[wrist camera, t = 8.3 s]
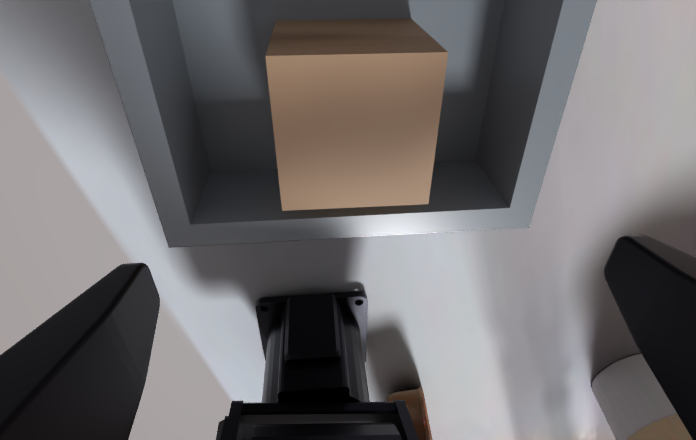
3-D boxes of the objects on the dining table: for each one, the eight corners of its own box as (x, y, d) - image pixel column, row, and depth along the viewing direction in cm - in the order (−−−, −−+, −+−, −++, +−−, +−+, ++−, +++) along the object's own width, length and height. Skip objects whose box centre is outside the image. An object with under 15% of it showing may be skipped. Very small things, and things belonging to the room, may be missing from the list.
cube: (401, 142, 19) (428, 204, 15) (287, 146, 18) (282, 210, 14) (411, 18, 16) (448, 52, 12) (276, 20, 15) (265, 56, 11)
